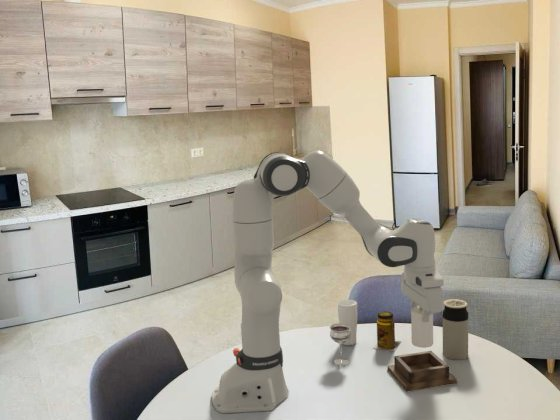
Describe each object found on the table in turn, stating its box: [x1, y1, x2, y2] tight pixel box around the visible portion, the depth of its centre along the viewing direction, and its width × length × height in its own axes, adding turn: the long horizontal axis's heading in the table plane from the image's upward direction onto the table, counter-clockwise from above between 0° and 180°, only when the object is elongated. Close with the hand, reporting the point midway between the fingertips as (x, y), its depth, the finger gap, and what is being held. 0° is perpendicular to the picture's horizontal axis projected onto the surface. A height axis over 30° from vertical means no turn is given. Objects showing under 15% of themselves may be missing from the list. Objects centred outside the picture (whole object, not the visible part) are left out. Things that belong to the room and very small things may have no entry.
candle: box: [410, 306, 434, 349], centre depth 161 cm, size 6×6×15 cm
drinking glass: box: [337, 299, 358, 346], centre depth 190 cm, size 7×7×15 cm
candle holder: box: [386, 350, 458, 392], centre depth 164 cm, size 16×14×5 cm
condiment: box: [373, 310, 401, 352], centre depth 186 cm, size 7×8×12 cm
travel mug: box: [442, 298, 469, 361], centre depth 176 cm, size 8×8×18 cm
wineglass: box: [329, 322, 351, 366], centre depth 176 cm, size 7×7×12 cm
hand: (420, 317), depth 161 cm, fingers closed on candle, 5 cm apart
